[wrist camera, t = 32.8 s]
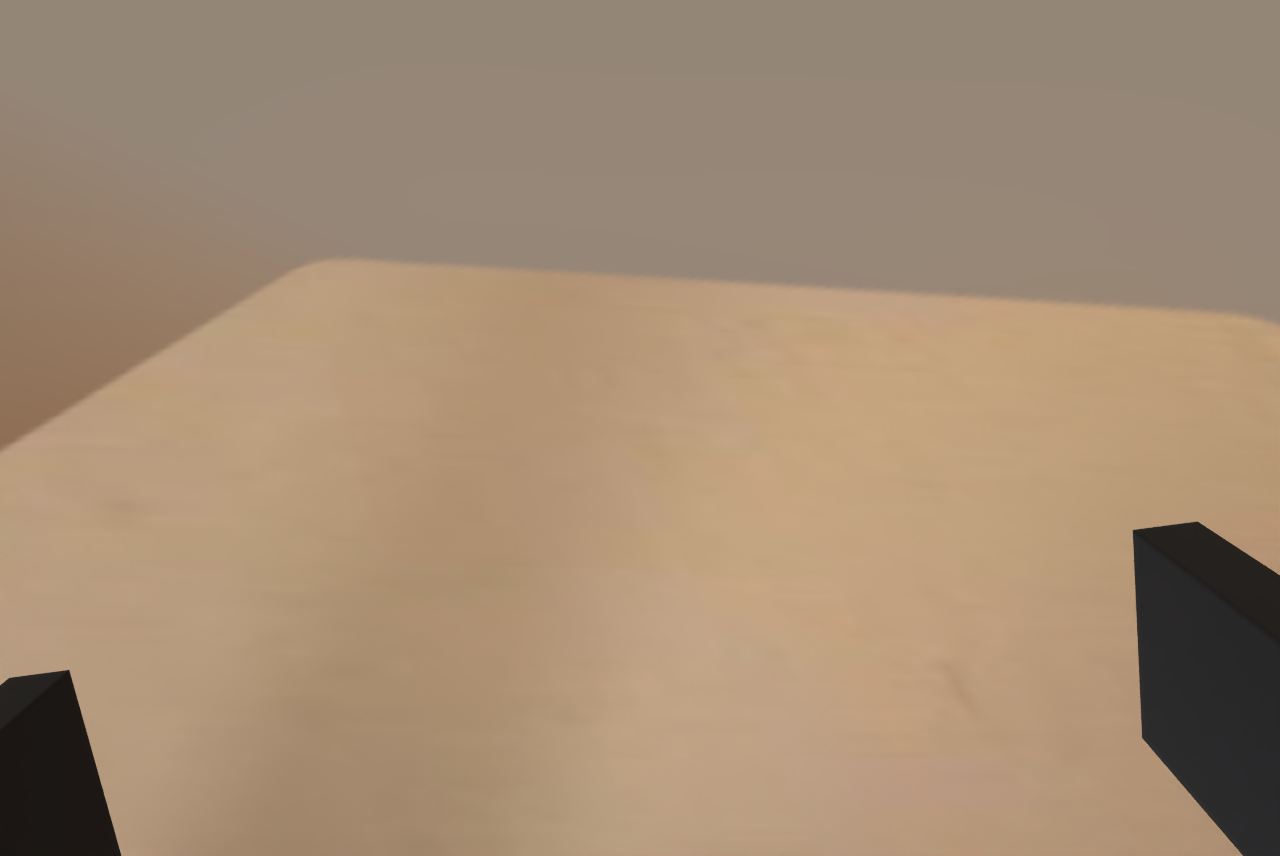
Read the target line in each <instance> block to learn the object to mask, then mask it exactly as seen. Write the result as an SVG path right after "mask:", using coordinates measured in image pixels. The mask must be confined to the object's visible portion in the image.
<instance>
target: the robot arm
mask: <svg viewBox="0 0 1280 856" xmlns="http://www.w3.org/2000/svg"><path fill="white" fill-rule="evenodd" d="M1133 544H1134V566H1135V588H1136V610H1137V632H1138V654H1139V676H1140V698H1141V720H1142V738H1143V739H1144V741H1145V742H1146V743H1147V744H1148V745H1149V746H1150V748H1151V749H1152V750H1153V751H1154V752H1155V753H1156V755H1157V756H1158V757H1159V758H1160V759H1161V760H1162V762H1163V763H1164V764H1165V765H1166V766H1167V767H1168V769H1169V770H1170V771H1171V772H1172V773H1173V774H1174V776H1175V777H1176V778H1177V779H1178V780H1179V781H1180V783H1181V784H1182V785H1183V786H1184V787H1185V788H1186V790H1187V791H1188V792H1189V793H1190V794H1191V795H1192V797H1193V798H1194V799H1195V800H1196V801H1197V802H1198V804H1199V805H1200V806H1201V807H1202V808H1203V809H1204V811H1205V812H1206V813H1207V814H1208V815H1209V816H1210V818H1211V819H1212V820H1213V821H1214V822H1215V823H1216V825H1217V826H1218V827H1219V828H1220V829H1221V830H1222V832H1223V833H1224V834H1225V835H1226V836H1227V837H1228V839H1229V840H1230V841H1231V842H1232V843H1233V844H1234V846H1235V847H1236V848H1237V849H1238V850H1239V851H1240V853H1241V854H1242V855H1243V856H1280V575H1278V574H1277V573H1275V572H1274V571H1272V570H1271V569H1269V568H1268V567H1266V566H1265V565H1263V564H1261V563H1260V562H1258V561H1257V560H1255V559H1254V558H1252V557H1251V556H1249V555H1248V554H1246V553H1245V552H1243V551H1242V550H1240V549H1239V548H1237V547H1236V546H1234V545H1232V544H1231V543H1229V542H1228V541H1226V540H1225V539H1223V538H1222V537H1220V536H1219V535H1217V534H1216V533H1214V532H1213V531H1211V530H1210V529H1208V528H1206V527H1205V526H1203V525H1202V524H1200V523H1199V522H1191V523H1183V524H1176V525H1168V526H1161V527H1153V528H1145V529H1138V530H1133ZM0 856H121V853H120V849H119V846H118V842H117V839H116V835H115V832H114V828H113V824H112V821H111V817H110V814H109V810H108V807H107V803H106V800H105V796H104V792H103V789H102V785H101V782H100V778H99V775H98V771H97V767H96V764H95V760H94V757H93V753H92V750H91V746H90V743H89V739H88V735H87V732H86V728H85V725H84V721H83V718H82V714H81V710H80V707H79V703H78V700H77V696H76V693H75V689H74V686H73V682H72V678H71V675H70V671H69V670H66V671H59V672H51V673H44V674H36V675H28V676H21V677H13V678H9V679H8V680H6V681H5V682H4V683H3V684H1V685H0Z"/></svg>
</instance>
